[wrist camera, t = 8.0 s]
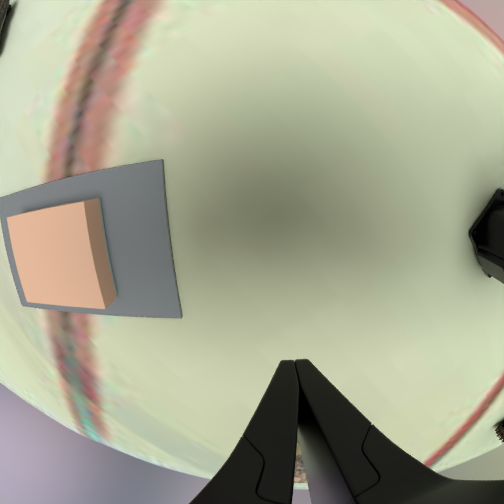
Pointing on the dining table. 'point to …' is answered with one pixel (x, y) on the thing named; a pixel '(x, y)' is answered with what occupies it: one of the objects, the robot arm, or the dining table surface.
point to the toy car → (4, 11)
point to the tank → (500, 431)
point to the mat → (115, 235)
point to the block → (63, 255)
